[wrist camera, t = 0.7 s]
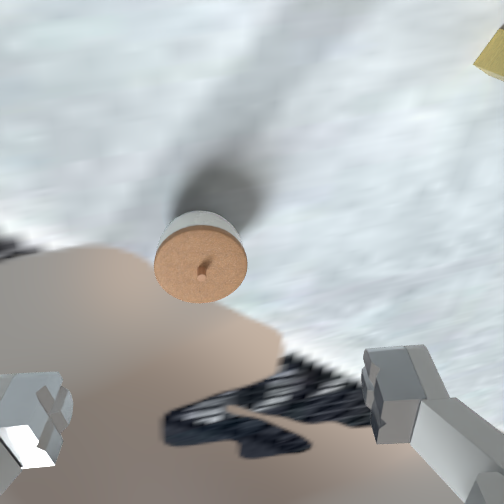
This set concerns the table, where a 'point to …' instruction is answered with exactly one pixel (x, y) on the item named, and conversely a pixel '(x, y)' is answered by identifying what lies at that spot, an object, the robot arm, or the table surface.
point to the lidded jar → (200, 258)
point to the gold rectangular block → (493, 57)
